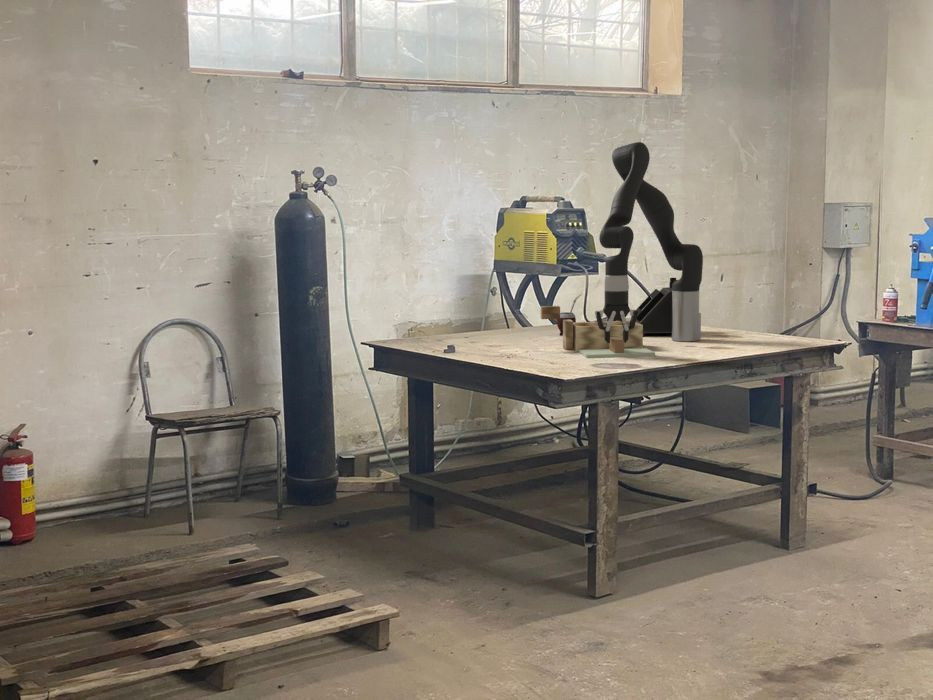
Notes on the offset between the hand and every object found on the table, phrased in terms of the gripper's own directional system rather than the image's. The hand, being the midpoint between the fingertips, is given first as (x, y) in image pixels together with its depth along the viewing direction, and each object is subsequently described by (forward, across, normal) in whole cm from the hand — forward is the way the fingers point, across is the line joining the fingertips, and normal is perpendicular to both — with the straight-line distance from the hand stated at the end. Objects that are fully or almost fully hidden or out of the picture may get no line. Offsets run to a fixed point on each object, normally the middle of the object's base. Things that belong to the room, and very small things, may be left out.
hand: (616, 342), depth 362 cm
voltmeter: (+4, -26, -49) cm, 56 cm away
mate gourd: (+4, +6, -53) cm, 53 cm away
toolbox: (+4, +2, -15) cm, 16 cm away
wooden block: (-6, +19, -16) cm, 25 cm away
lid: (+4, 0, 0) cm, 4 cm away
